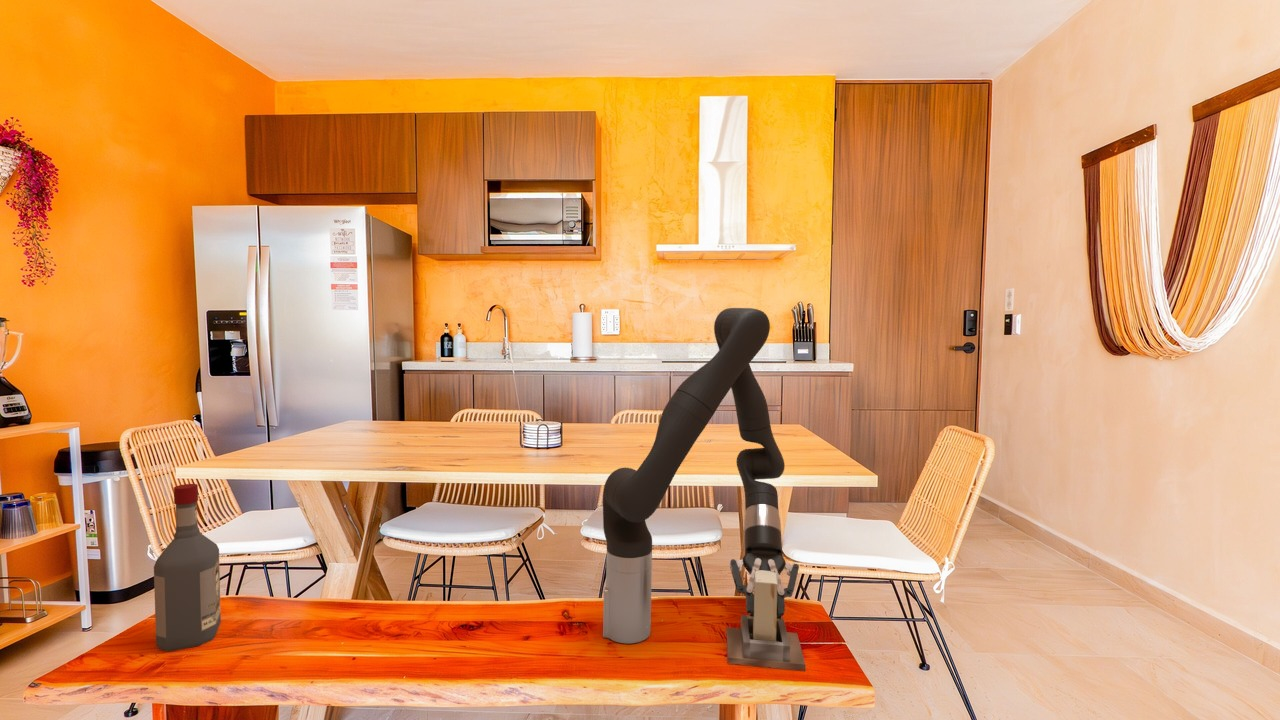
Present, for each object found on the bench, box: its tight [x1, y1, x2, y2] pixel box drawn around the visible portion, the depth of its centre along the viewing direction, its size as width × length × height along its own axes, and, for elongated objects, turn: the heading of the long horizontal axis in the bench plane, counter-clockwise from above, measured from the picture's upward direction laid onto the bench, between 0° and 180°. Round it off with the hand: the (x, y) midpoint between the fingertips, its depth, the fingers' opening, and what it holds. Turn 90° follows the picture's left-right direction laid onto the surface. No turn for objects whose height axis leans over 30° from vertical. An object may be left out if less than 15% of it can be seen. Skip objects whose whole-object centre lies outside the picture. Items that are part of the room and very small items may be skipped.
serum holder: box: [726, 614, 806, 672], centre depth 112 cm, size 14×11×4 cm
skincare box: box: [753, 570, 778, 642], centre depth 112 cm, size 6×4×12 cm
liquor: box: [153, 483, 222, 652], centre depth 112 cm, size 9×9×30 cm
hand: (765, 615), depth 110 cm, fingers closed on skincare box, 4 cm apart
